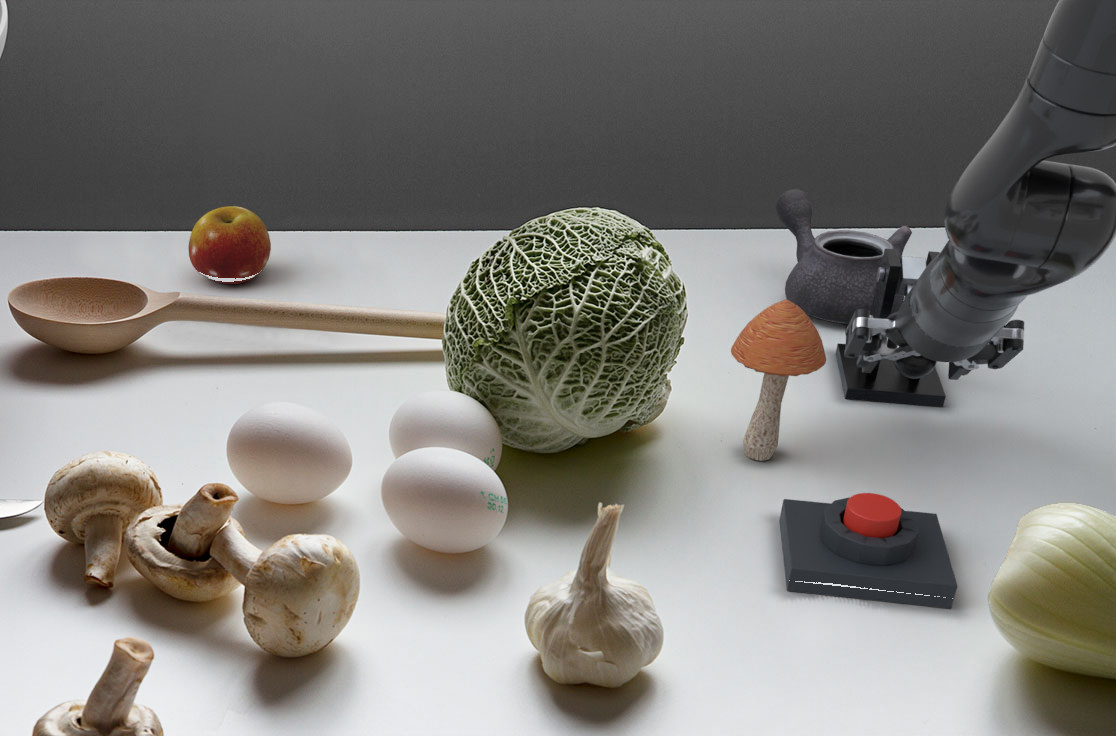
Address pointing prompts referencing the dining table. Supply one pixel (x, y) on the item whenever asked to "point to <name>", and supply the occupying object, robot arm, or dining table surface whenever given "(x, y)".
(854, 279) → the teapot
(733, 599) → the dining table surface
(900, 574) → the block
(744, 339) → the mushroom
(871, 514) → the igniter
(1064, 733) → the dining table surface
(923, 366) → the lever
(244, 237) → the fruit
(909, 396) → the bracket
